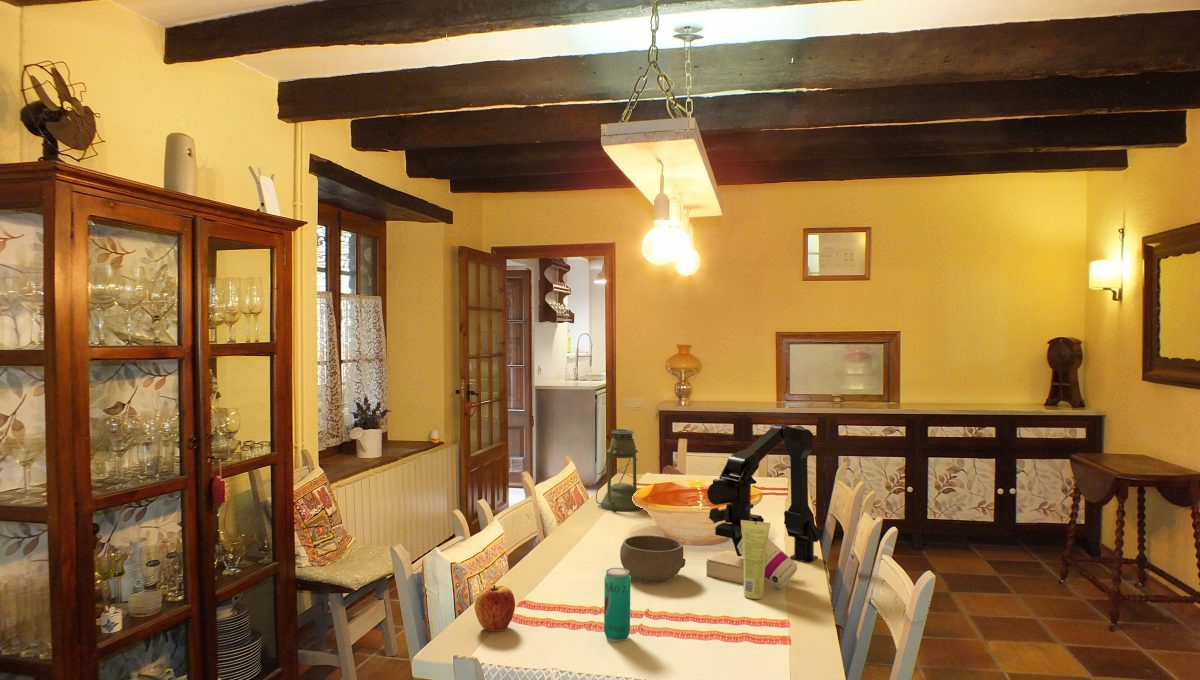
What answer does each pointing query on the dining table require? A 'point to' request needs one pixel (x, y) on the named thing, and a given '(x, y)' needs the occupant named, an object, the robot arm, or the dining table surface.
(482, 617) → the apple
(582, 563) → the dining table surface
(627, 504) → the lantern
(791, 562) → the supplement can
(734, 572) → the carton
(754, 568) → the tube
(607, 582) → the beverage can
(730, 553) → the flap
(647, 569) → the bowl
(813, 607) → the dining table surface
